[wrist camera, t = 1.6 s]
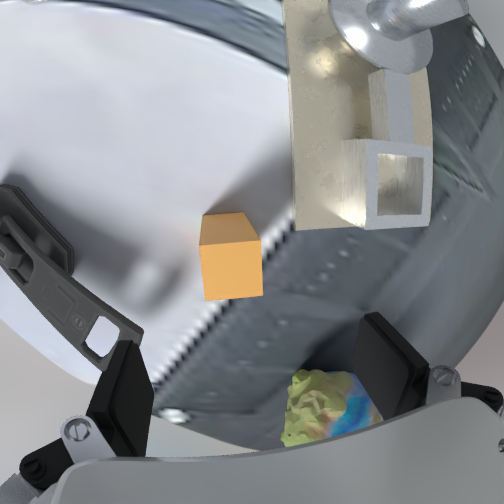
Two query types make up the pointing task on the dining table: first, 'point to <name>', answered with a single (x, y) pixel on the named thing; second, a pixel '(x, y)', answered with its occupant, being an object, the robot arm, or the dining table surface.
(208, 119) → the dining table surface
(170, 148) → the dining table surface
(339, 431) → the relief earth globe
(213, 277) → the orange rectangular block
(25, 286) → the zipper pull
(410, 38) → the door knob latch
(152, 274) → the dining table surface
